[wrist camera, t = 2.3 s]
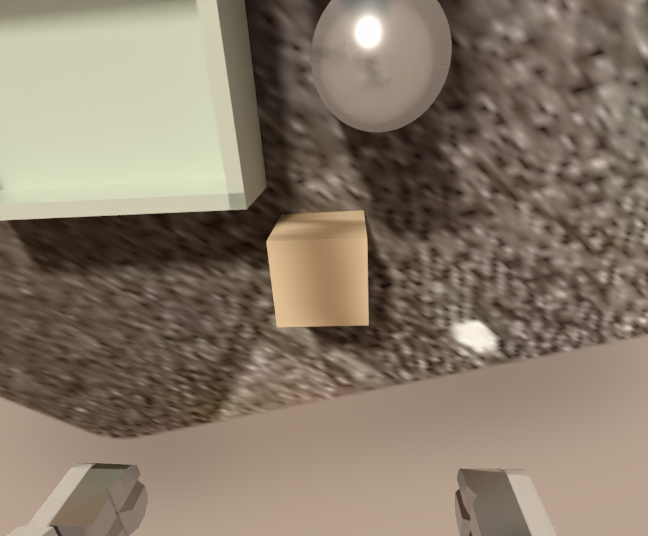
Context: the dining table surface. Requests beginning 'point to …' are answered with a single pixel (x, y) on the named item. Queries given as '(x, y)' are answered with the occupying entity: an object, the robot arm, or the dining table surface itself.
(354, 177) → the dining table surface
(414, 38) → the cylinder
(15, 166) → the tote
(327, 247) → the cube
